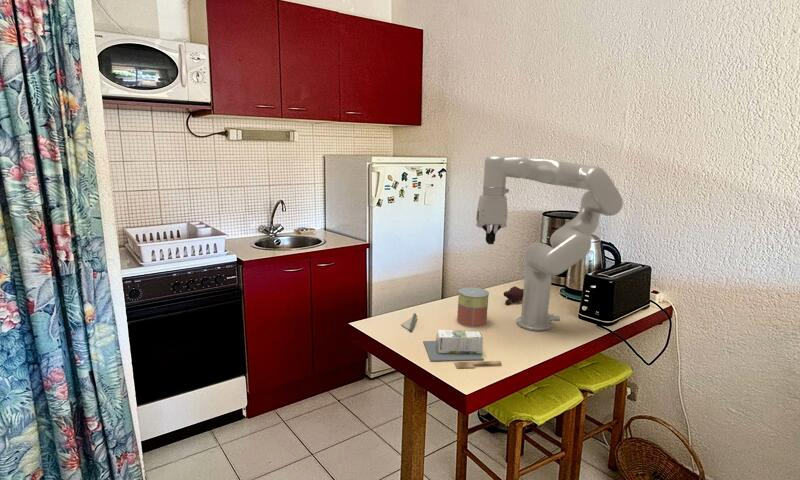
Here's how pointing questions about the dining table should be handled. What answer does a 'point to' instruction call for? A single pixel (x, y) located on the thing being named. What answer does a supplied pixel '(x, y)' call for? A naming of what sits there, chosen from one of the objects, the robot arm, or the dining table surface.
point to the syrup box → (459, 341)
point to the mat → (448, 354)
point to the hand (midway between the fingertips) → (490, 243)
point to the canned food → (472, 307)
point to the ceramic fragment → (410, 323)
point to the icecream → (514, 295)
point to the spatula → (476, 364)
